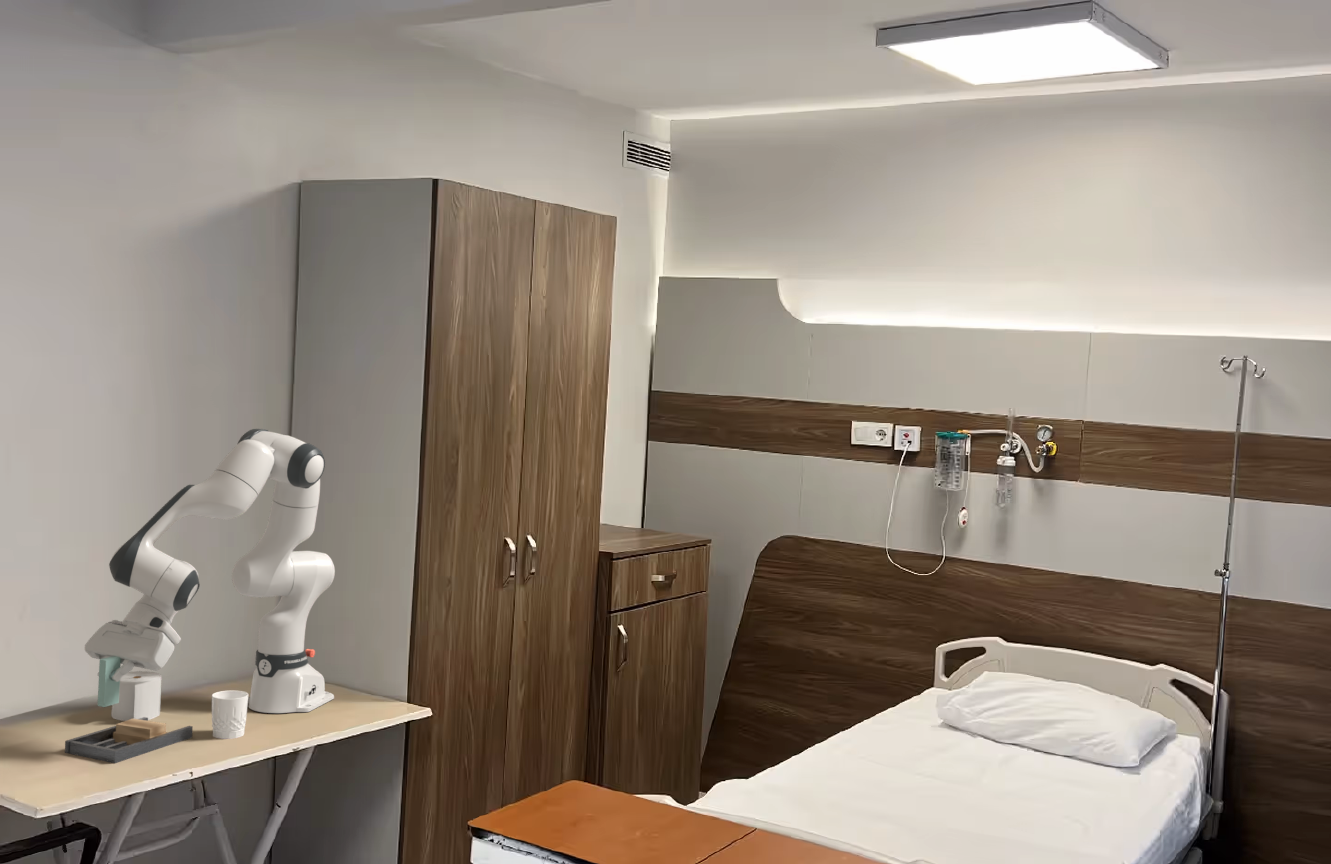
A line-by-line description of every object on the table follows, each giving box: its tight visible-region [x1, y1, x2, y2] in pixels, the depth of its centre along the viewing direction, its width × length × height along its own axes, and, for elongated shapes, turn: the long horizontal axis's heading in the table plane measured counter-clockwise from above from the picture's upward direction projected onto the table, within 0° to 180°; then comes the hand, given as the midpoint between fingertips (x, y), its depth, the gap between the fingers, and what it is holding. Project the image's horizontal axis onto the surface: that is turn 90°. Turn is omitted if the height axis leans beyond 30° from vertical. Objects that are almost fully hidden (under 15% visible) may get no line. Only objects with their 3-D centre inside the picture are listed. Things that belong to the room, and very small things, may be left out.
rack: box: [64, 717, 193, 764], centre depth 267 cm, size 22×14×3 cm, turn 158°
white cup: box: [211, 689, 249, 740], centre depth 278 cm, size 8×8×10 cm
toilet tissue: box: [110, 670, 162, 722], centre depth 289 cm, size 11×12×10 cm
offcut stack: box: [113, 719, 168, 745], centre depth 269 cm, size 6×10×4 cm, turn 68°
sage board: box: [97, 656, 122, 708], centre depth 261 cm, size 4×2×10 cm, turn 158°
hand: (107, 678), depth 260 cm, fingers closed on sage board, 2 cm apart
